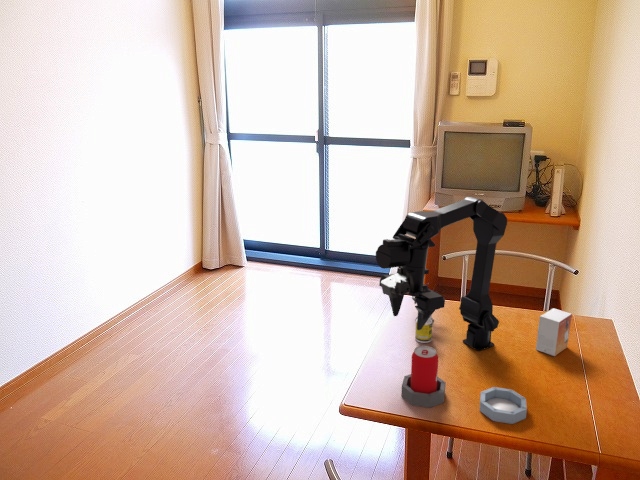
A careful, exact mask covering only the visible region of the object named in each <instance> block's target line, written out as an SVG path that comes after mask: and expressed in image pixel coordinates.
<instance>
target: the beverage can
mask: <svg viewBox="0 0 640 480" xmlns="http://www.w3.org/2000/svg"><path fill="white" fill-rule="evenodd" d="M413 350H414V351H413V352H412V355H411V370H410V371H411V372H410V374H411V387H410V388H411V389H412V390H413V391H414V392H418V393H425V394H431V393H433V392H436V391H437V376H438V373H439V370H438V369H439V355H438V354H437V350H436V349H435V348H434V347H432V346H429V345H418V346H416V347H415V348H414V349H413Z"/></svg>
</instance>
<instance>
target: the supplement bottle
mask: <svg viewBox="0 0 640 480" xmlns="http://www.w3.org/2000/svg"><path fill="white" fill-rule="evenodd" d="M432 315H433V314H432ZM432 315H431V316H430V317H429V319H428V320H427V322H426V323H425V325H424V326H423V328H422V329H421V330H417V319H416V318H418V314H417V317H416V318H415V332H414V333H415V335H414V336H415V337H414V339H415V340H416V342H418V343H422V344H427V343H431V342H432V335H433V333H432V332H433V322H432V319H431V318H432Z"/></svg>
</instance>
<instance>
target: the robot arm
mask: <svg viewBox="0 0 640 480" xmlns="http://www.w3.org/2000/svg"><path fill="white" fill-rule="evenodd" d="M507 217H508V216H506V215H505V213H503V212H500V211H499V210H497V209H495V208H493V207H491V205H488V204H487V203H486V202H485V201H484V200H483V199H480V198H477V197H473V196H466V197H465V198H464V199H462V200H459V201H455V202H454V203H451V204H449V205H446V206H443V207H440V208H437V209H434V210H428V211H427V210H423V211H422V210H420V211H414V212H413V211H412V212H409V213H407V214H406V215H405V218H404V220H403V221H402V222H401V224H400V225H399V226H398V228H397V230H396V232H395V233H394V234H393V236H392V239H387V238H386V239H383V240H382V244H380V245H379V246H378V247H377V249H376V251H375V260H376V263H377V265H378V266H379V267H380V268H381V269H392V268H397V271H396V273H391V274H384V275H383V274H382V276H381V277H380V278H379V283H378V284H379V287H381V292H382V293H383V295H386V296H388V297H389V301H390V306H391V310H392V315H393V317H398V315H399V314H400V310H401V308H402V303H403V301H404V296H405V295H406V294H407V295H410V296H411V297H412V296H413V297H414V298H415V297H416V305H414V308H415V309H416V310H417V315H418V318H417V317H416V318H417V330H421V329H422V328H423V326H424V325H425V323H426V322H427V320H428V319H429V317H430V316H431V315H433V313H434V312H436V311H437V310H439V309H444V308H445V304H446V299H445V297H444V296H443V295H441V294H439V293H435V292H436V291H435V292H427V293H423V292H422V290H425V289H427V287H428V285H427V284H424V283H425V275H428V274H429V272H430V269H428V268H426V267H427V259H428V252H429V248H435V246H436V244H435V242H434V241H433V240H432V238H434V237H436V236H437V235H439V234H440V231H441V230H442V229H443V228H446V227H447V226H448V227H449V226H450V225H452V224H455V223H457V222H461V221H463V220H465V219H468V218H469V219H470V220H471V221H472V224H473V225H472V230H473V234H474V236H475V239H476V248H475V254H474V255H475V256H474V260H473V268H472V276H471V281H470V289H469V291H468V293H467V294H466V295H464V296H463V295H462V296H461V298H460V305H459V308H458V309H459V310H460V315H461V316H462V317H461V318H462V321H463V322H466V323H468V324H467V330H466V337H465V338H464V339H462V342H463V343H464V344H466V345H468V346H469V347H471V348H472V349H474V350H476V351H478V352H481V351H482V350H483V351H484V350H486V349H489V348H493V347H494V346H496V345H495V343H494V342H492V341H491V339H492V332H495V330H497V328H498V326H499V325H500V320H499V319H498V318H497V317H496V316H495V315H494V314H493V311H494V310H493V308H494V306H493V302H492V301H493V300H492V299H491V296H490V287H491V279H492V274H493V267H494V263H495V262H494V261H495V256H496V249H497V244H498V243H499V241H500V240H501V239H502V238H503V237H504V236H505V232H506V229H507V225H508V218H507Z"/></svg>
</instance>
